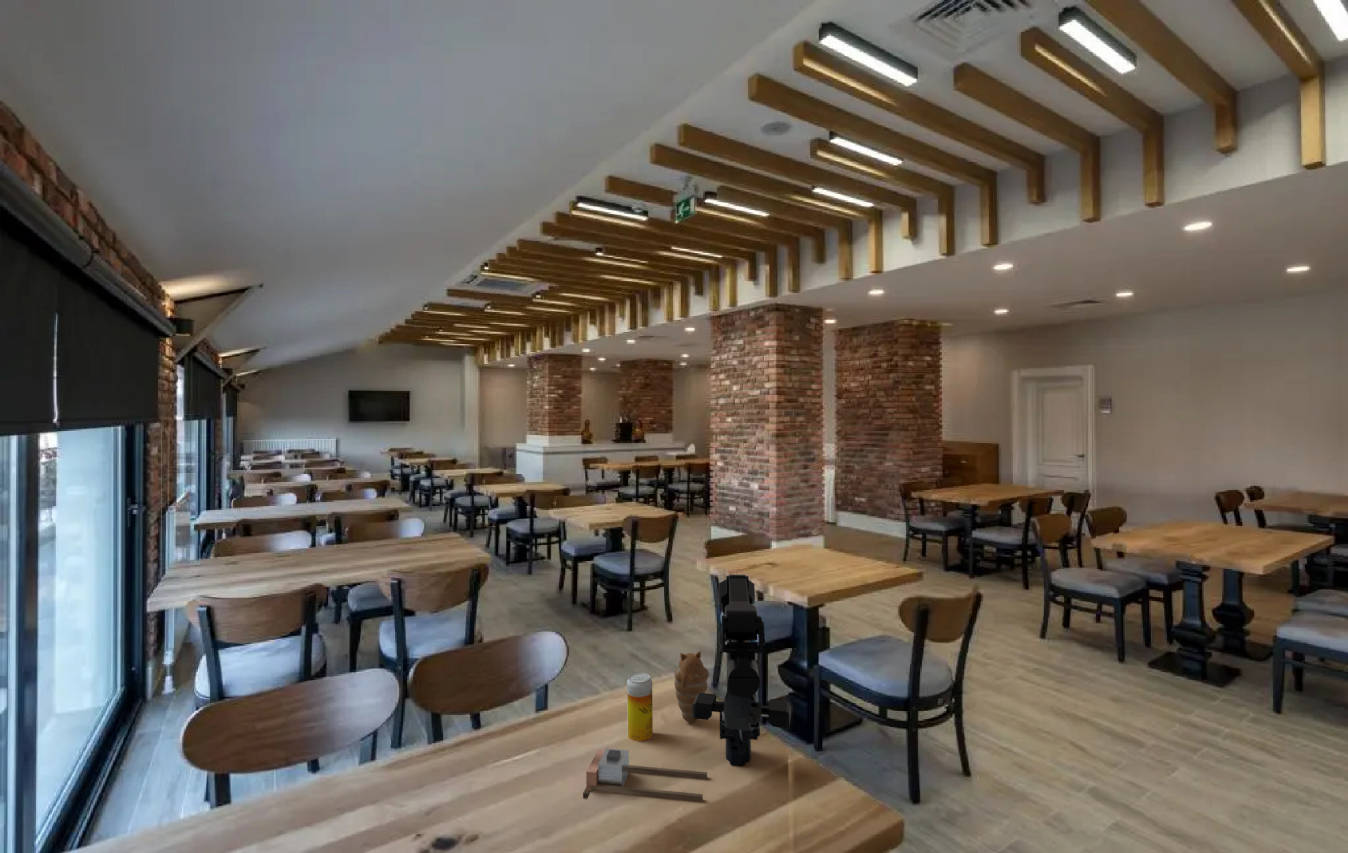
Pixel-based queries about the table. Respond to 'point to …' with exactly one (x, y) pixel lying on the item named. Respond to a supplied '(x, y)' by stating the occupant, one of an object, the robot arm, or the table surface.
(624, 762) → the block
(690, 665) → the cat ice cream
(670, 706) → the table surface
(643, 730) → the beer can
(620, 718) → the table surface
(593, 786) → the guide board
